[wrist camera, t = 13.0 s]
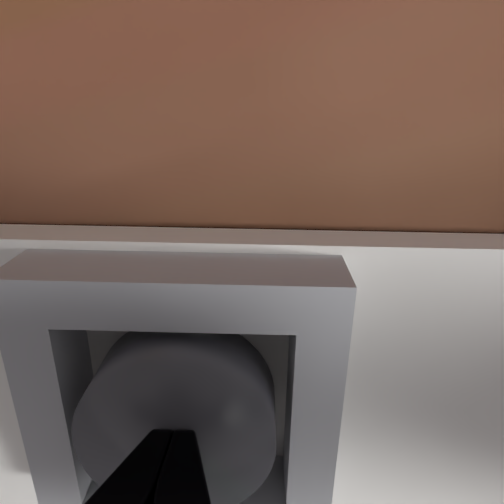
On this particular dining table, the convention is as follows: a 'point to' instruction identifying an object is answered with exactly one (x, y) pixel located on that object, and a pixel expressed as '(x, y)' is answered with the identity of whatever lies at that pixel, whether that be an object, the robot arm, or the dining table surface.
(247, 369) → the button
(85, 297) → the board
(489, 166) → the dining table surface
